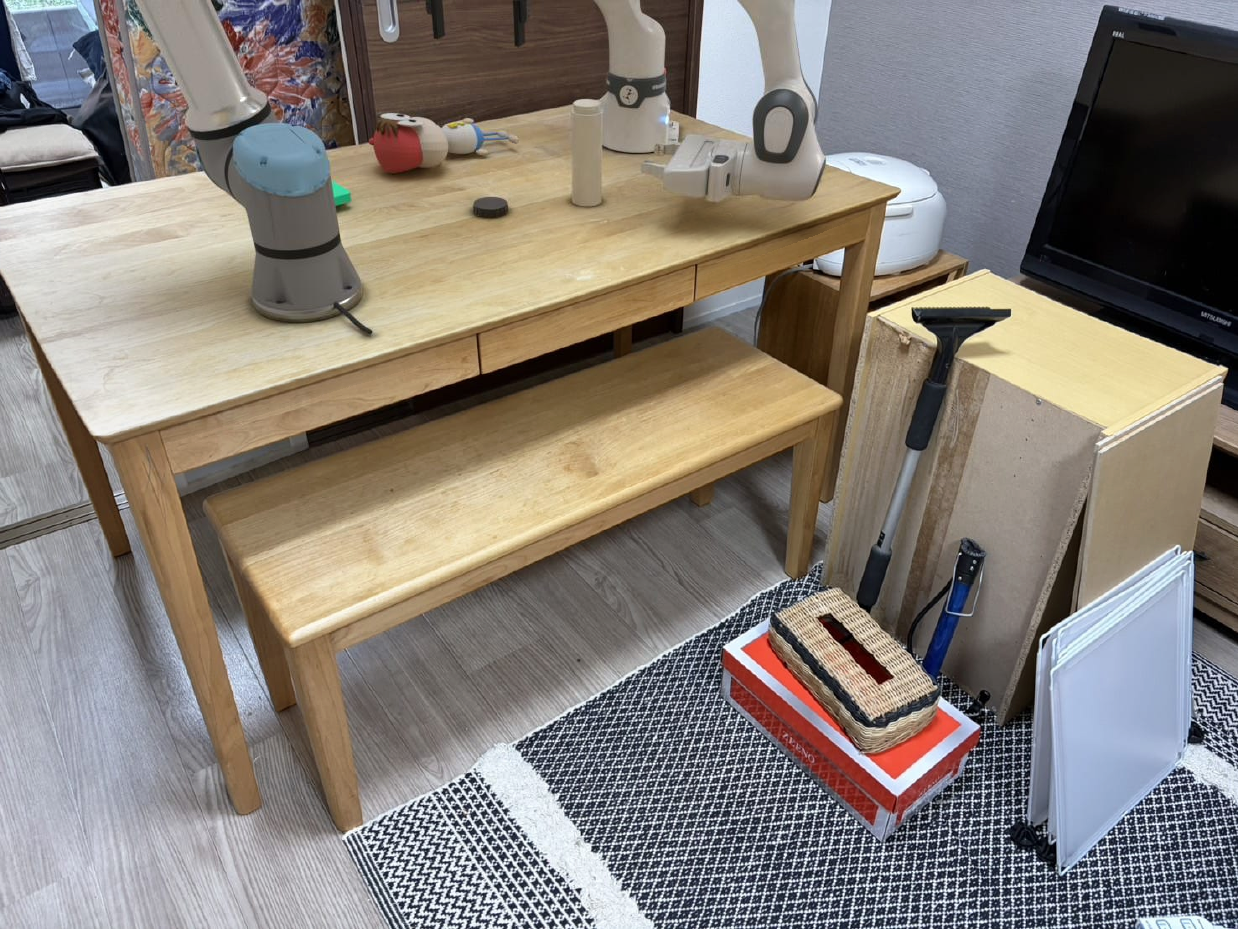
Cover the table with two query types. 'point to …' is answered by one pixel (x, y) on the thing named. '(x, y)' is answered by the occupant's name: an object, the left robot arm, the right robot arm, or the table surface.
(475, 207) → the lid
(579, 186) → the jar
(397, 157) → the toy
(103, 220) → the table surface
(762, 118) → the right robot arm
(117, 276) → the table surface
